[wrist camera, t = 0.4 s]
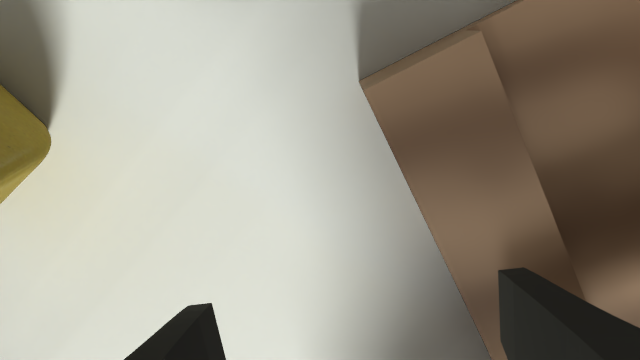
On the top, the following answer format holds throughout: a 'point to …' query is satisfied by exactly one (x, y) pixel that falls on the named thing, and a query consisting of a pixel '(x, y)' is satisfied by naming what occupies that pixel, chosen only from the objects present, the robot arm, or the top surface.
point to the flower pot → (19, 143)
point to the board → (526, 150)
